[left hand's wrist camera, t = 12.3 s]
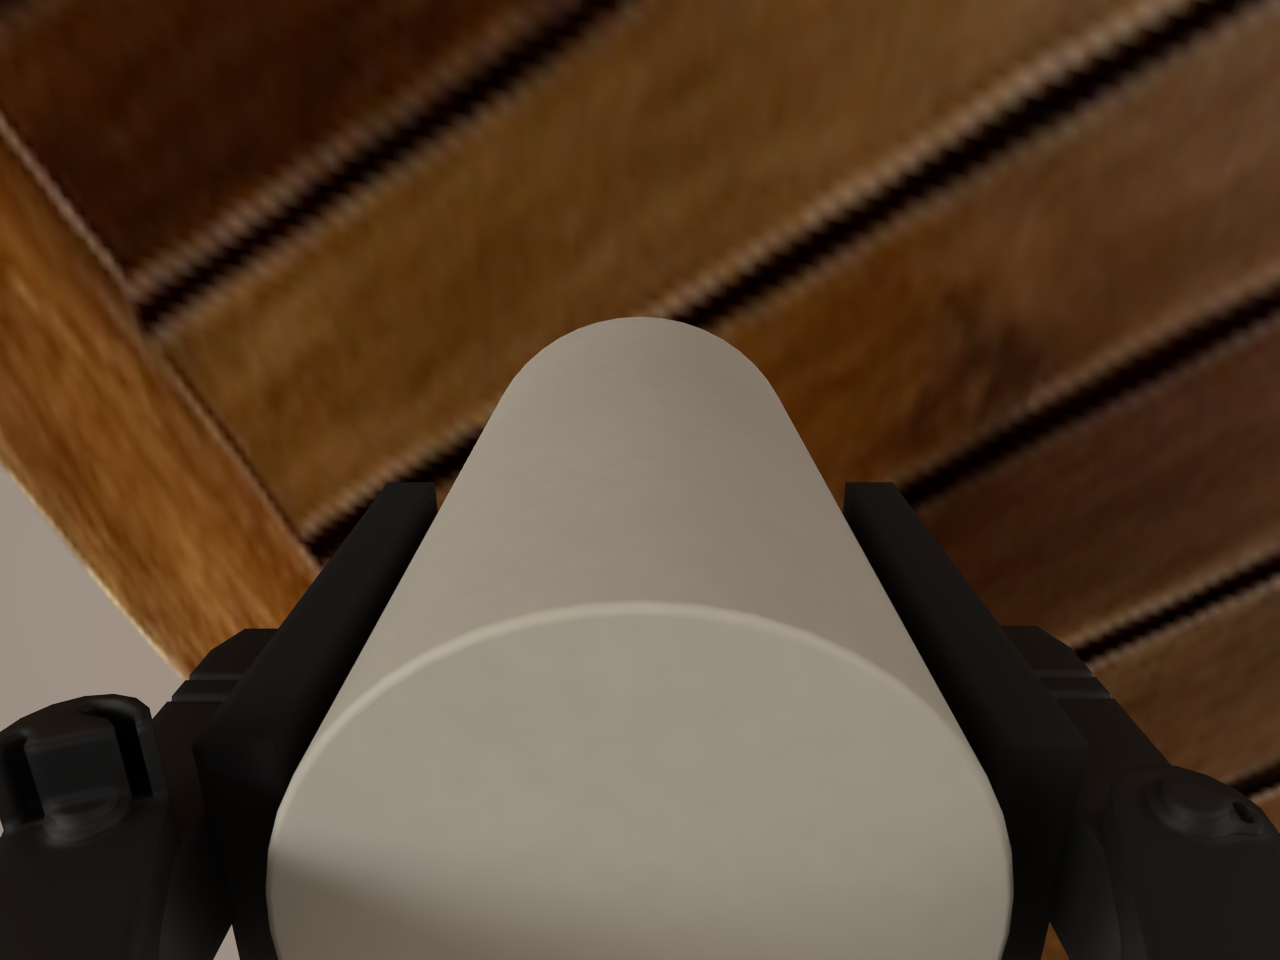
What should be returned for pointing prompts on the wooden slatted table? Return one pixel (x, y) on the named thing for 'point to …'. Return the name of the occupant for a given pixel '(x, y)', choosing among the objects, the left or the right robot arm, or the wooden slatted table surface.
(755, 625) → the canister
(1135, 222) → the wooden slatted table surface
